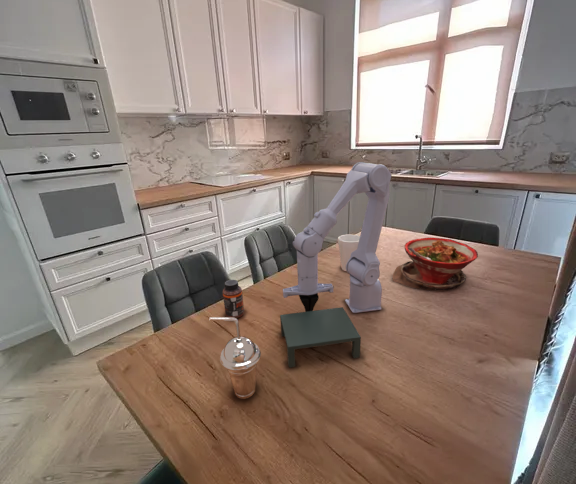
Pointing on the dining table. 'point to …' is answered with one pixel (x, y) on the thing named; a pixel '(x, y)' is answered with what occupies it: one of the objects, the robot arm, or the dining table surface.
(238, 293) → the supplement bottle
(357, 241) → the foam cup
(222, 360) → the cup with straw
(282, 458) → the dining table surface
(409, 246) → the stew
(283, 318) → the bench
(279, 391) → the dining table surface
